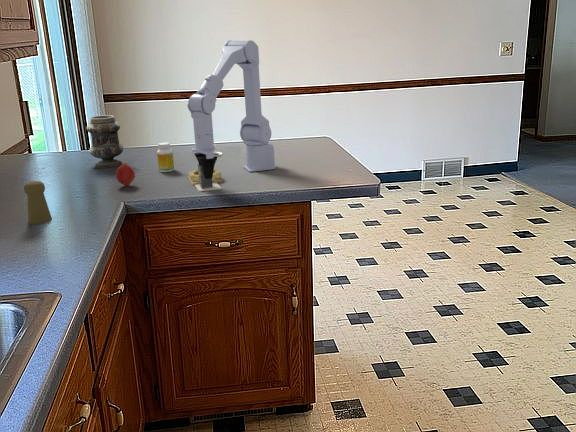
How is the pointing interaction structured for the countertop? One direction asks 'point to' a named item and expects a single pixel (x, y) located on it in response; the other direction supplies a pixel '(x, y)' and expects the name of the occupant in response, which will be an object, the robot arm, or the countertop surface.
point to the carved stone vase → (105, 140)
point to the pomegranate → (125, 174)
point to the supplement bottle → (165, 157)
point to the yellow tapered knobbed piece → (37, 203)
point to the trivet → (215, 187)
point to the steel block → (203, 179)
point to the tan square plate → (198, 182)
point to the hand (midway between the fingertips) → (207, 176)
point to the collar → (195, 175)
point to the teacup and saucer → (216, 152)
